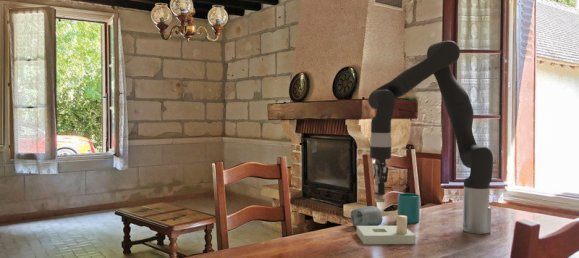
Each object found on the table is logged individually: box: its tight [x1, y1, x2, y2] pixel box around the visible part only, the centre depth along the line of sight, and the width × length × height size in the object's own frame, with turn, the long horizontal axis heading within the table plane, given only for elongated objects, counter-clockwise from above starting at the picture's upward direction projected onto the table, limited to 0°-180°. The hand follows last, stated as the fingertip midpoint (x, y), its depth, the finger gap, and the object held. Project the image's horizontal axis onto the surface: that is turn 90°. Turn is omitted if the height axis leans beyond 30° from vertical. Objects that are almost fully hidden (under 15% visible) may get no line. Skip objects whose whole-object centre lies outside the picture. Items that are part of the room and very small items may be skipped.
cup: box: [397, 192, 421, 224], centre depth 197 cm, size 9×12×11 cm
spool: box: [350, 205, 384, 229], centre depth 186 cm, size 14×10×10 cm
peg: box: [374, 176, 386, 203], centre depth 168 cm, size 4×4×9 cm
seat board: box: [356, 214, 416, 245], centre depth 168 cm, size 18×14×9 cm
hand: (379, 192), depth 168 cm, fingers closed on peg, 3 cm apart
